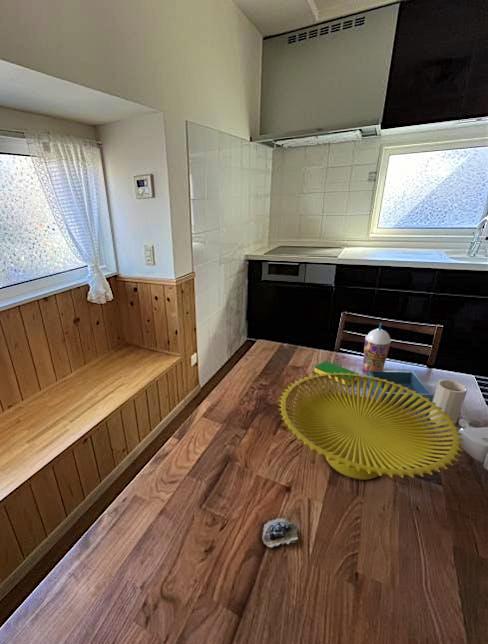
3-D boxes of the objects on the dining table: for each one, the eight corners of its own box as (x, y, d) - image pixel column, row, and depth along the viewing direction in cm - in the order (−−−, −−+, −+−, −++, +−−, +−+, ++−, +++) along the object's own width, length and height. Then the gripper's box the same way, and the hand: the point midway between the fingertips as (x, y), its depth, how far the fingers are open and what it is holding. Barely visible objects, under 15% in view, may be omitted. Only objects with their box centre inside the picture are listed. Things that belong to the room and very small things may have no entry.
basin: (410, 383, 119) (413, 371, 117) (430, 407, 106) (433, 395, 104) (366, 381, 122) (368, 370, 120) (380, 405, 109) (382, 393, 107)
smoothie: (361, 375, 126) (369, 326, 118) (358, 364, 133) (366, 317, 125) (386, 378, 123) (396, 328, 115) (382, 367, 130) (391, 319, 122)
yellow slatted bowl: (245, 464, 90) (246, 418, 84) (315, 397, 115) (319, 358, 109) (422, 571, 63) (441, 516, 57) (461, 453, 89) (478, 406, 82)
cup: (448, 413, 103) (458, 379, 98) (460, 427, 97) (472, 392, 92) (424, 412, 105) (433, 379, 100) (435, 426, 99) (445, 391, 94)
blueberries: (304, 538, 70) (305, 532, 70) (276, 558, 67) (276, 552, 66) (281, 513, 76) (282, 508, 75) (253, 531, 72) (254, 525, 72)
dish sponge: (348, 386, 120) (349, 380, 119) (313, 372, 130) (314, 366, 129) (358, 379, 124) (359, 373, 123) (324, 365, 134) (325, 360, 133)
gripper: (583, 445, 73) (525, 407, 86) (489, 450, 73) (444, 411, 86) (572, 467, 76) (516, 427, 88) (480, 472, 76) (438, 431, 89)
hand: (480, 419), depth 87 cm, fingers open, 8 cm apart
